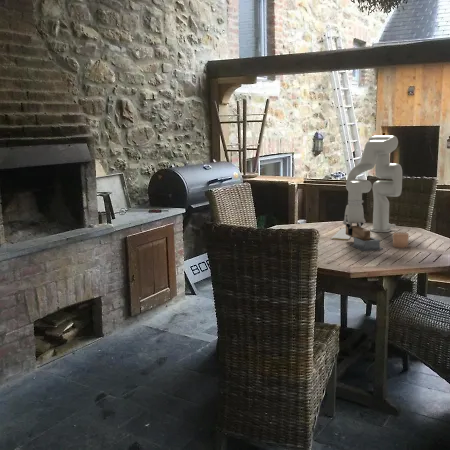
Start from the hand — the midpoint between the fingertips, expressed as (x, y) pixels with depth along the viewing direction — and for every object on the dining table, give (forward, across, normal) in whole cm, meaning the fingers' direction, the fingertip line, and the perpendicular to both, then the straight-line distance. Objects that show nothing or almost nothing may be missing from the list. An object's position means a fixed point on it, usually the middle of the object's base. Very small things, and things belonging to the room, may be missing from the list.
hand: (353, 234), depth 295 cm
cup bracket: (+5, 0, +13) cm, 14 cm away
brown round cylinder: (+5, -19, +17) cm, 26 cm away
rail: (+1, 0, +4) cm, 4 cm away
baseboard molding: (+6, -5, -22) cm, 23 cm away
